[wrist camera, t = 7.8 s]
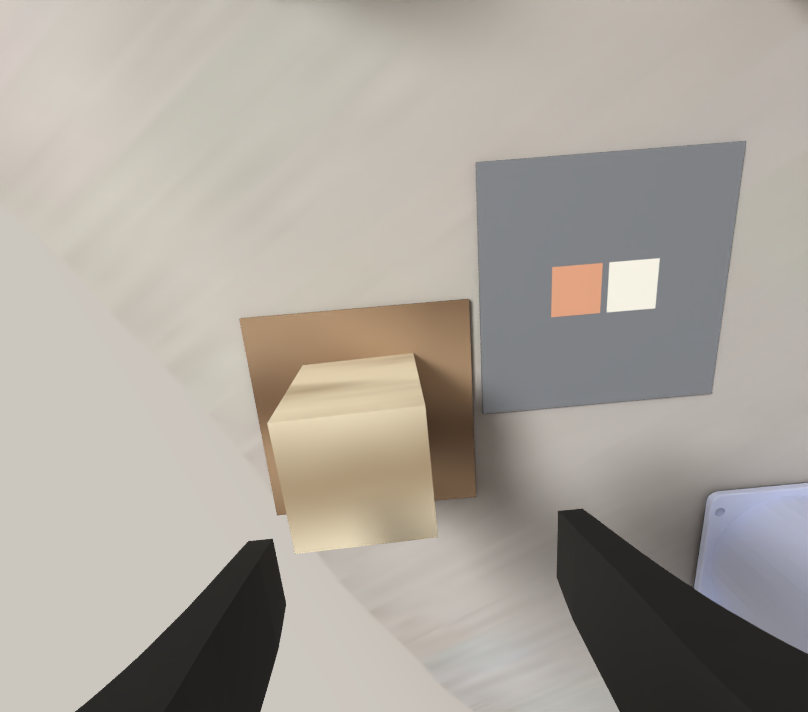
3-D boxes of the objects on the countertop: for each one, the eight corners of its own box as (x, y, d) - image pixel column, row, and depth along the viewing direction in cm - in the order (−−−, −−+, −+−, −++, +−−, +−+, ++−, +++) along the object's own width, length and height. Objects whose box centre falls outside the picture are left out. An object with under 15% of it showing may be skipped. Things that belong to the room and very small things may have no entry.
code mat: (708, 391, 21) (711, 393, 20) (482, 412, 20) (483, 414, 20) (742, 141, 17) (746, 140, 17) (475, 163, 17) (476, 162, 17)
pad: (474, 494, 22) (476, 496, 21) (278, 512, 21) (277, 515, 21) (468, 298, 19) (468, 299, 19) (240, 318, 19) (239, 319, 18)
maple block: (423, 451, 21) (437, 537, 15) (320, 463, 21) (295, 553, 15) (413, 353, 19) (425, 405, 13) (302, 365, 19) (267, 423, 13)
